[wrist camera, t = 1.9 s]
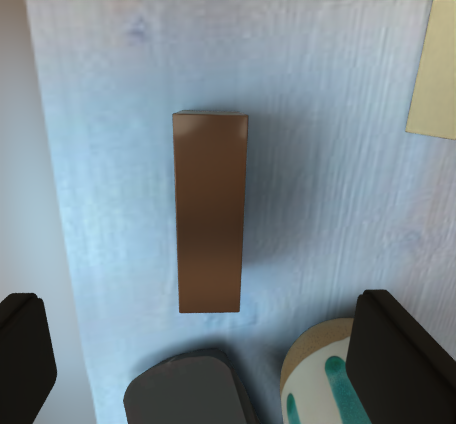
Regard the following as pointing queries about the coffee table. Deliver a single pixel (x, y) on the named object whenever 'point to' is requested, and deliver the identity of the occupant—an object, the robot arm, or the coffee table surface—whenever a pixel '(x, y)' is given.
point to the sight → (190, 392)
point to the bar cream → (436, 76)
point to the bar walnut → (209, 208)
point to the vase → (320, 378)
